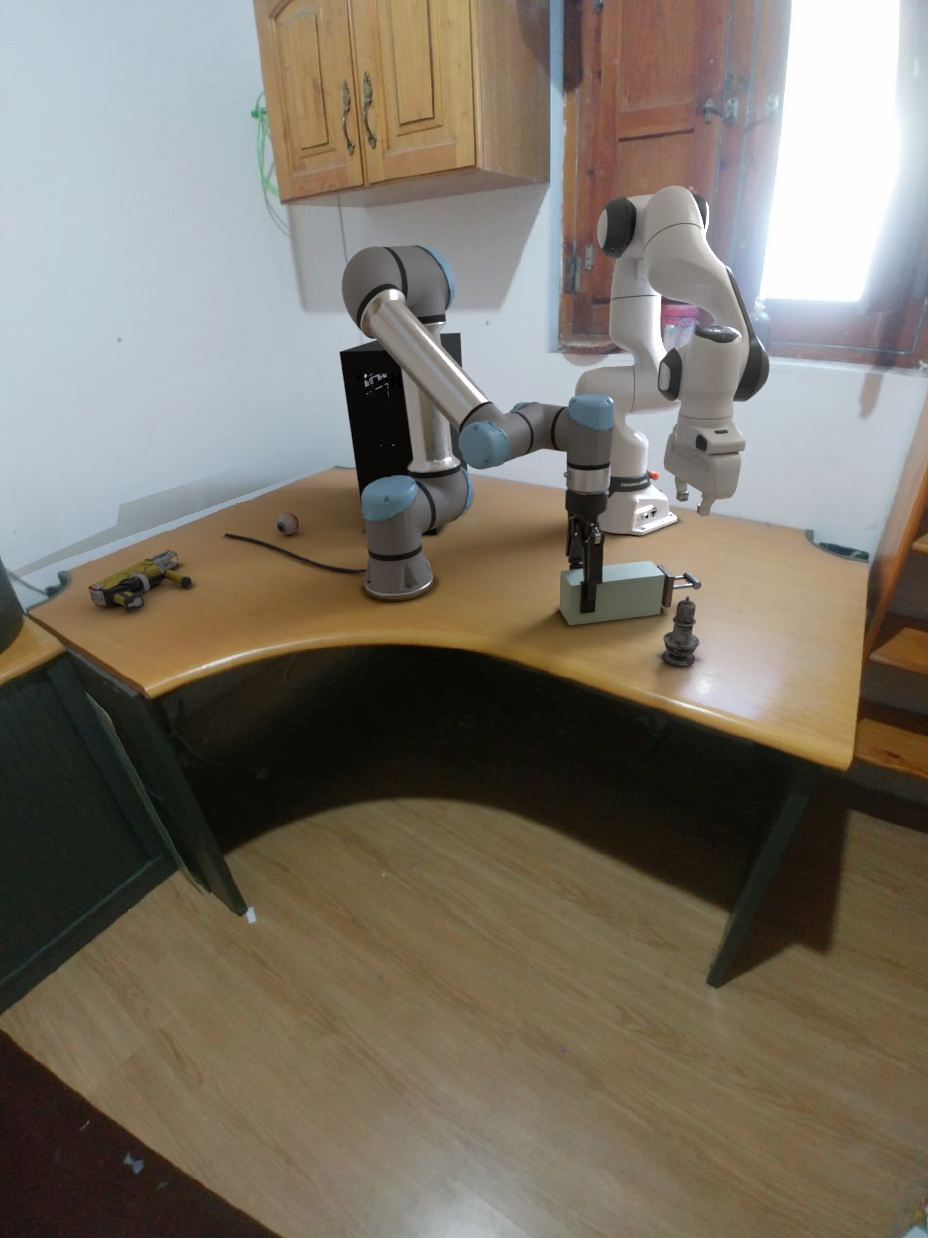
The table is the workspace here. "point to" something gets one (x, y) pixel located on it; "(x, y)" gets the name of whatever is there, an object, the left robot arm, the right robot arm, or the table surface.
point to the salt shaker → (681, 636)
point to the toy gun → (136, 582)
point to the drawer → (670, 586)
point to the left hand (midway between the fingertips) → (581, 602)
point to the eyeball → (287, 523)
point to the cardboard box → (384, 412)
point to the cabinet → (614, 593)
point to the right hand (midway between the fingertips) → (691, 507)
